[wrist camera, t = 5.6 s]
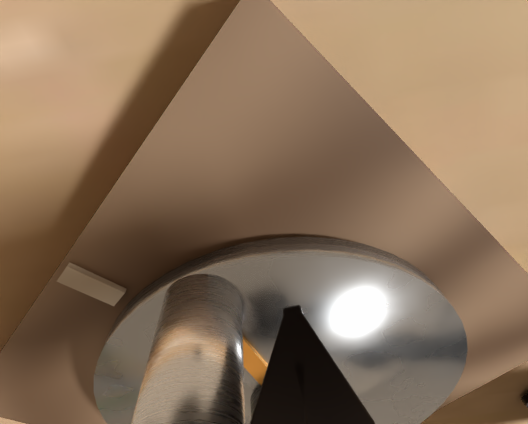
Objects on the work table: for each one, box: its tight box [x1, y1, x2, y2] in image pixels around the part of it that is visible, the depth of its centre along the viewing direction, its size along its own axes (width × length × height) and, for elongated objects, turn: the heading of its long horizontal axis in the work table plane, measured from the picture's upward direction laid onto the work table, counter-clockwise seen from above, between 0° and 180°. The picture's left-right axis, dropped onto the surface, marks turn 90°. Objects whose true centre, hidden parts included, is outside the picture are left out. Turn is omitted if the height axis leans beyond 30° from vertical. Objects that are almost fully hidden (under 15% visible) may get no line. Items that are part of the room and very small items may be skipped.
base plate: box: [0, 0, 528, 424], centre depth 15 cm, size 20×20×2 cm
